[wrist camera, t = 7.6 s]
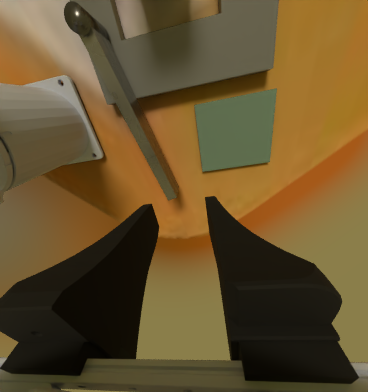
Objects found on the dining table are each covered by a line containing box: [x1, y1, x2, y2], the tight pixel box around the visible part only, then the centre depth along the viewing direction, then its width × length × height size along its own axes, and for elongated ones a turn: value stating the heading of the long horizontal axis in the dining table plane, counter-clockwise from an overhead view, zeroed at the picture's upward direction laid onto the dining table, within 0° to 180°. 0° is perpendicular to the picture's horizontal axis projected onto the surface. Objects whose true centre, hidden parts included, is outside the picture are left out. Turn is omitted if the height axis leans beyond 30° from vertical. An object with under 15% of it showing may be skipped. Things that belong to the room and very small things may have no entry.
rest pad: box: [194, 89, 277, 172], centre depth 17 cm, size 8×7×1 cm
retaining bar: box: [64, 1, 179, 200], centre depth 14 cm, size 15×1×3 cm, turn 23°
